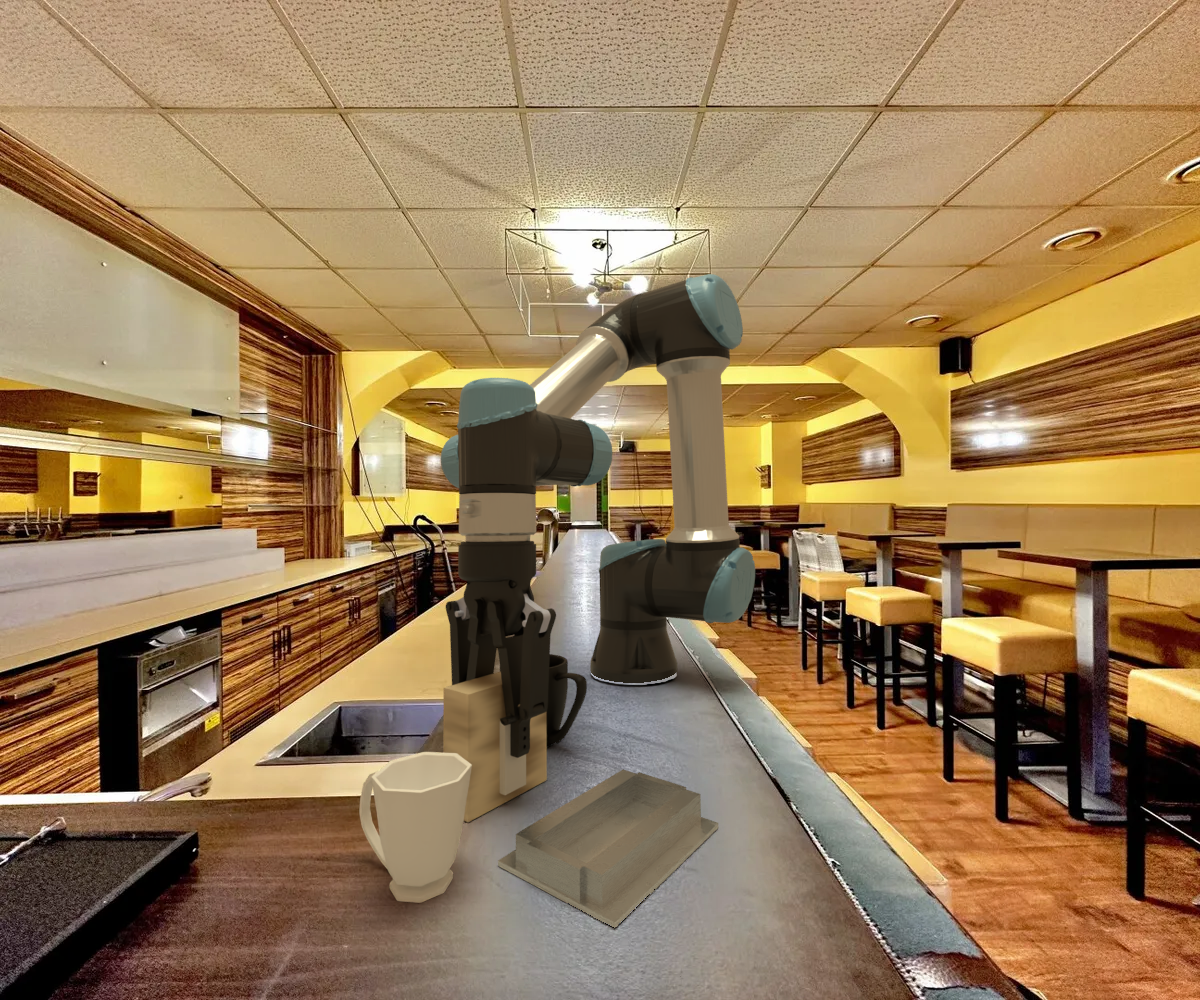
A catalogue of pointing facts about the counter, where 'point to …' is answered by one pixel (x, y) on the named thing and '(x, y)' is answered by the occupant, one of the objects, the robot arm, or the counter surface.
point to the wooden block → (487, 741)
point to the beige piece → (611, 844)
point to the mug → (561, 698)
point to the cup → (417, 820)
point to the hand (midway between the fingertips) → (497, 781)
